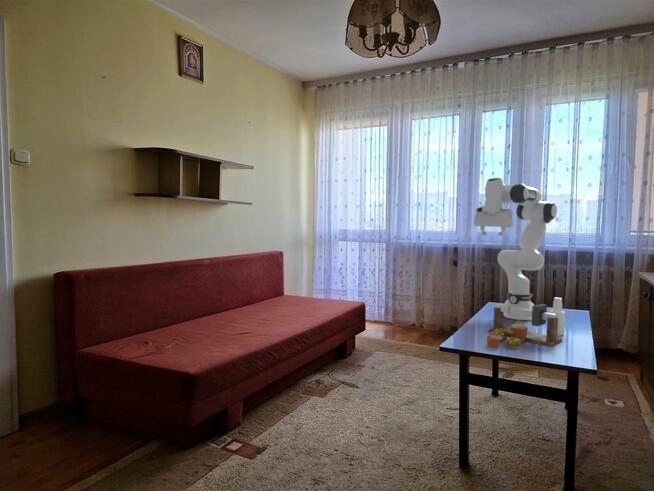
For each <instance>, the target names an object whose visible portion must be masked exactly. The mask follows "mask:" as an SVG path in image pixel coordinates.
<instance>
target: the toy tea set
mask: <svg viewBox="0 0 654 491" xmlns="http://www.w3.org/2000/svg"><path fill="white" fill-rule="evenodd" d="M509 327H510V334H511V337H508V335H506V333H507V330H505V329H502V328H500V329H495V331H492V332H490V335H486V342H487V347H489V348H494V349H495V348H496V349H497V348H499V347H500V343H503V341H504V339H506V340H505V341H504V342H505V343H504V345H505V347H507V348H509V349H510V348H511V349H520V348H522V345H521V343H525V342H526V341H525V339H526V334H527V331H529V329H528V327H527V326H525V325H524V324H523V323H521V320H517V321H516V322H514V323H513V324H511V325H510V326H509Z"/></svg>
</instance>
